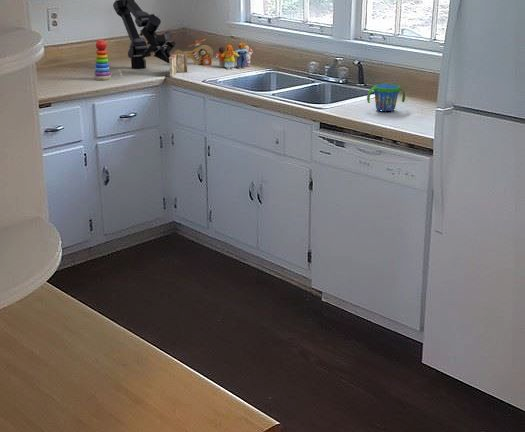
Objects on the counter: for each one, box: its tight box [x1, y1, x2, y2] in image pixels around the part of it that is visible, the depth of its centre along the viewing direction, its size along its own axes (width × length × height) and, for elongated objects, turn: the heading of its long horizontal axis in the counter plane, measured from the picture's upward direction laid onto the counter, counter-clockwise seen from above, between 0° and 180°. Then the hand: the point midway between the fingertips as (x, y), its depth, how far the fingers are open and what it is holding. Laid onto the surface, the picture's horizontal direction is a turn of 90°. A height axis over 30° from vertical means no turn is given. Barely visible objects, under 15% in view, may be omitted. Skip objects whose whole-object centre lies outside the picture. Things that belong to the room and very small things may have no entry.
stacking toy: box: [93, 39, 112, 81], centre depth 388 cm, size 8×8×19 cm
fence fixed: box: [177, 53, 188, 73], centre depth 403 cm, size 4×2×9 cm, turn 105°
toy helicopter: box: [173, 38, 214, 66], centre depth 423 cm, size 8×21×14 cm, turn 96°
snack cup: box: [366, 83, 406, 111], centre depth 330 cm, size 16×10×10 cm
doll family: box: [215, 42, 254, 71], centre depth 415 cm, size 21×10×13 cm, turn 115°
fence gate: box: [169, 52, 179, 77], centre depth 397 cm, size 12×2×9 cm, turn 175°
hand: (170, 62), depth 396 cm, fingers closed
